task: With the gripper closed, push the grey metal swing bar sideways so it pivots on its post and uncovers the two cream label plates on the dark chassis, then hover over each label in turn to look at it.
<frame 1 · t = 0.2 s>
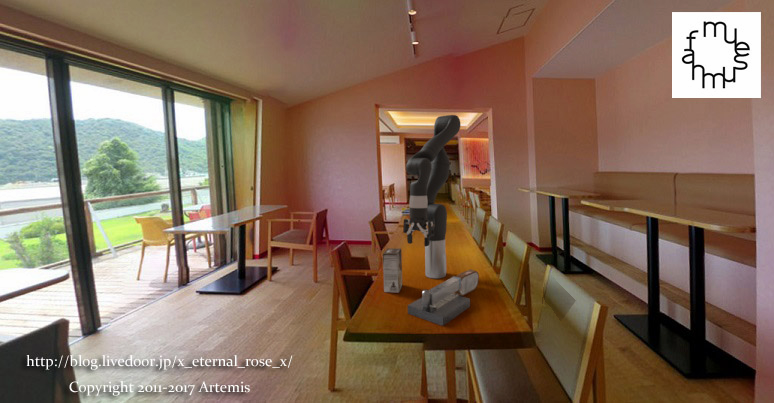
hand: (418, 244, 136), 17 cm above the table, tool pointing down, fingers open, 8 cm apart
chassis: (439, 310, 113), on the table
tin: (466, 292, 128), on the table
coffee box: (393, 289, 134), on the table
swing bar: (443, 290, 115), point 6 cm above the table, hinge at -0.5°
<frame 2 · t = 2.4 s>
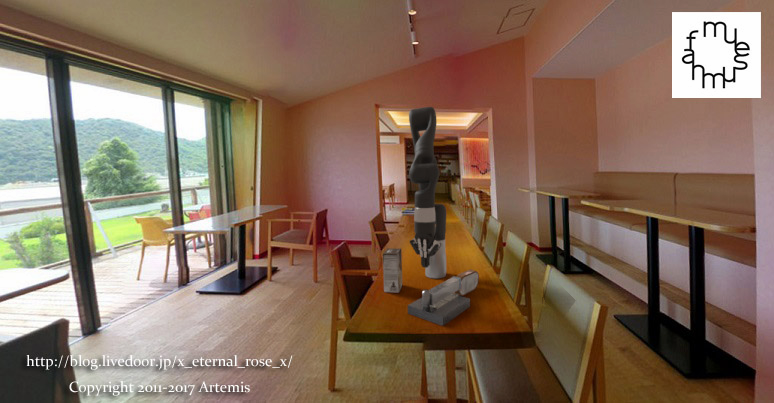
hand: (425, 266, 117), 14 cm above the table, tool pointing down, fingers closed
nothing on the table moved.
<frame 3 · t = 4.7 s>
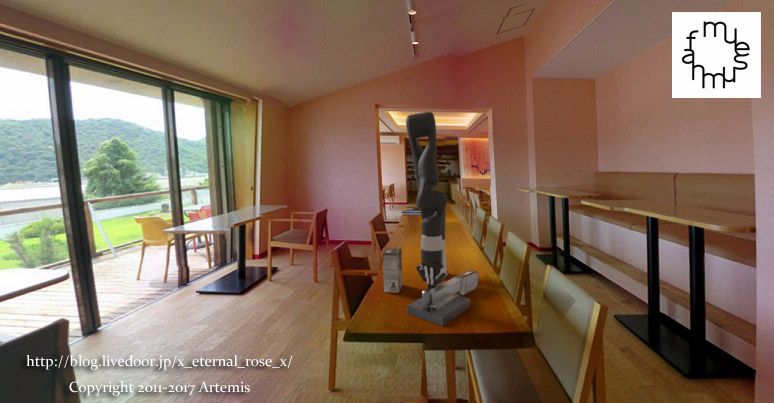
hand: (431, 293, 116), 4 cm above the table, tool pointing down, fingers closed
swing bar: (444, 290, 114), point 6 cm above the table, hinge at 1.4°, touching gripper
everything else where it was.
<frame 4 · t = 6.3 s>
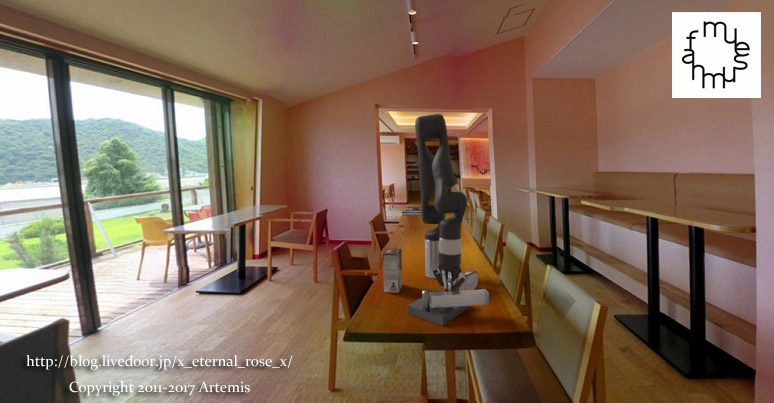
hand: (449, 299, 111), 4 cm above the table, tool pointing down, fingers closed
swing bar: (458, 298, 107), point 6 cm above the table, hinge at 43.5°, touching gripper
everything else where it was.
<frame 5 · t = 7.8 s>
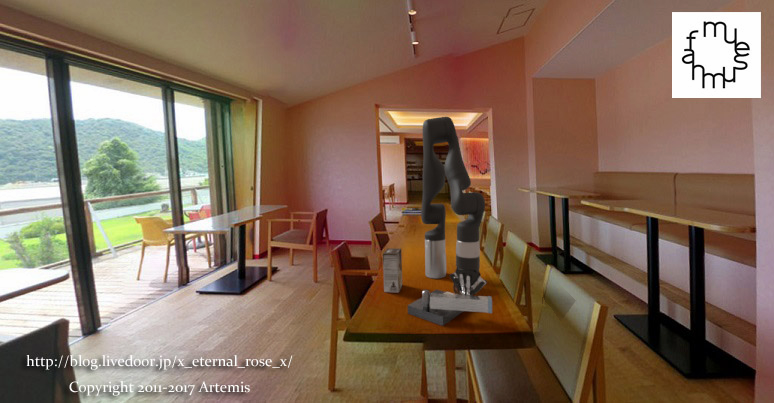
hand: (467, 304, 107), 4 cm above the table, tool pointing down, fingers closed
swing bar: (460, 302, 104), point 6 cm above the table, hinge at 61.0°, touching gripper
everything else where it was.
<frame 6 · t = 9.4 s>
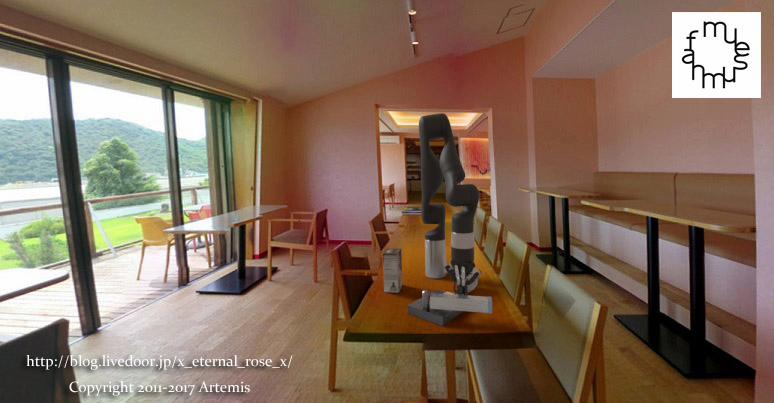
hand: (462, 295, 108), 7 cm above the table, tool pointing down, fingers closed
swing bar: (460, 302, 104), point 6 cm above the table, hinge at 61.6°
everything else where it was.
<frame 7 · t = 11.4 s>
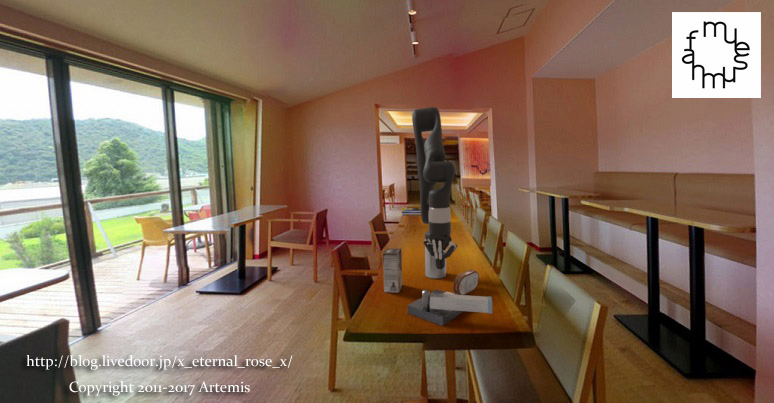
hand: (440, 268, 113), 14 cm above the table, tool pointing down, fingers closed
nothing on the table moved.
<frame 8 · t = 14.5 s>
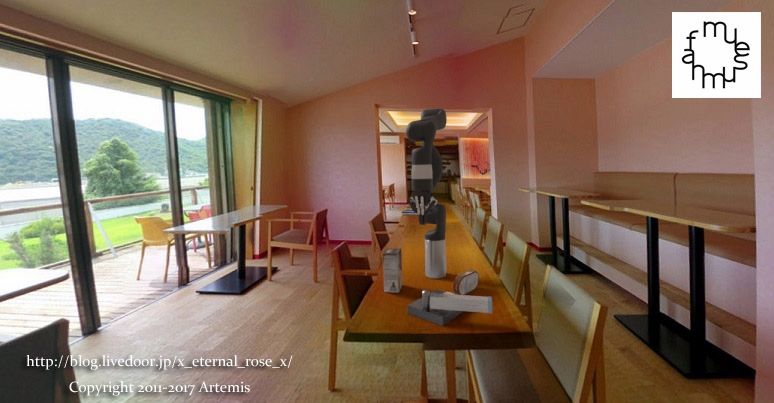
hand: (422, 224, 118), 29 cm above the table, tool pointing down, fingers closed
nothing on the table moved.
at the end: swing bar at +62° (first picture: +0°); the gripper is holding nothing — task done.
